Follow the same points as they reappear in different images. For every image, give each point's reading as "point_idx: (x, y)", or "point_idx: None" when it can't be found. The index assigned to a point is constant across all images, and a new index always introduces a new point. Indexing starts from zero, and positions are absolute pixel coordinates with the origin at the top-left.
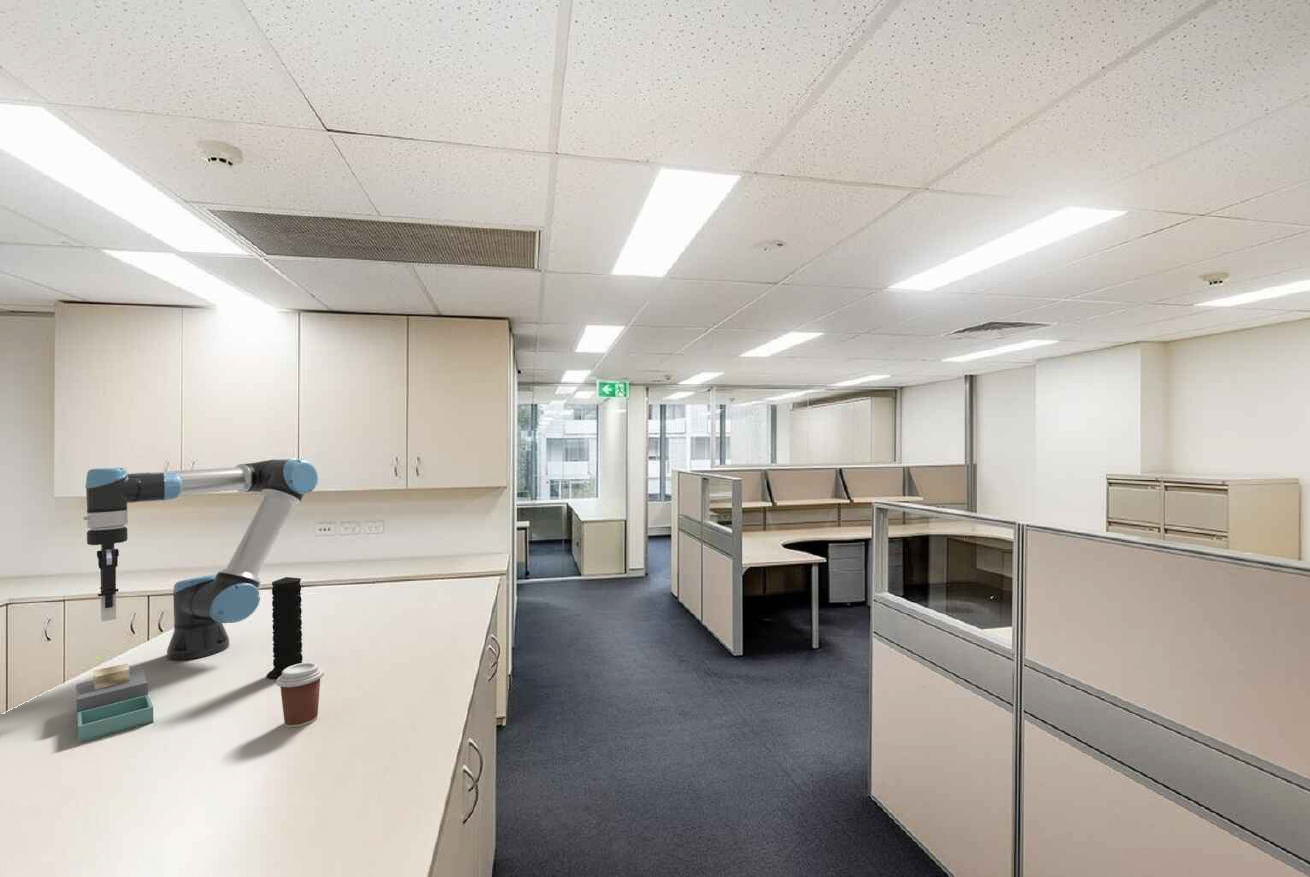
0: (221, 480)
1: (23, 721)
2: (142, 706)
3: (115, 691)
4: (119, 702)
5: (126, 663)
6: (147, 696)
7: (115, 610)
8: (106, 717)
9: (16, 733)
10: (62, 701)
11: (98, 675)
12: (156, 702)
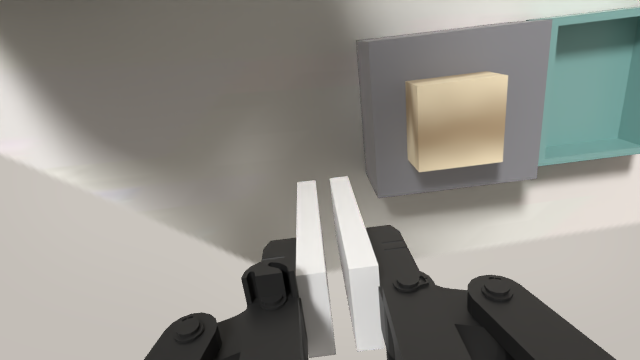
0: None
1: None
2: None
3: (543, 100)
4: (550, 86)
5: (418, 88)
6: (566, 20)
7: (354, 200)
8: None
9: (437, 248)
10: (275, 206)
11: (494, 154)
12: (483, 3)
